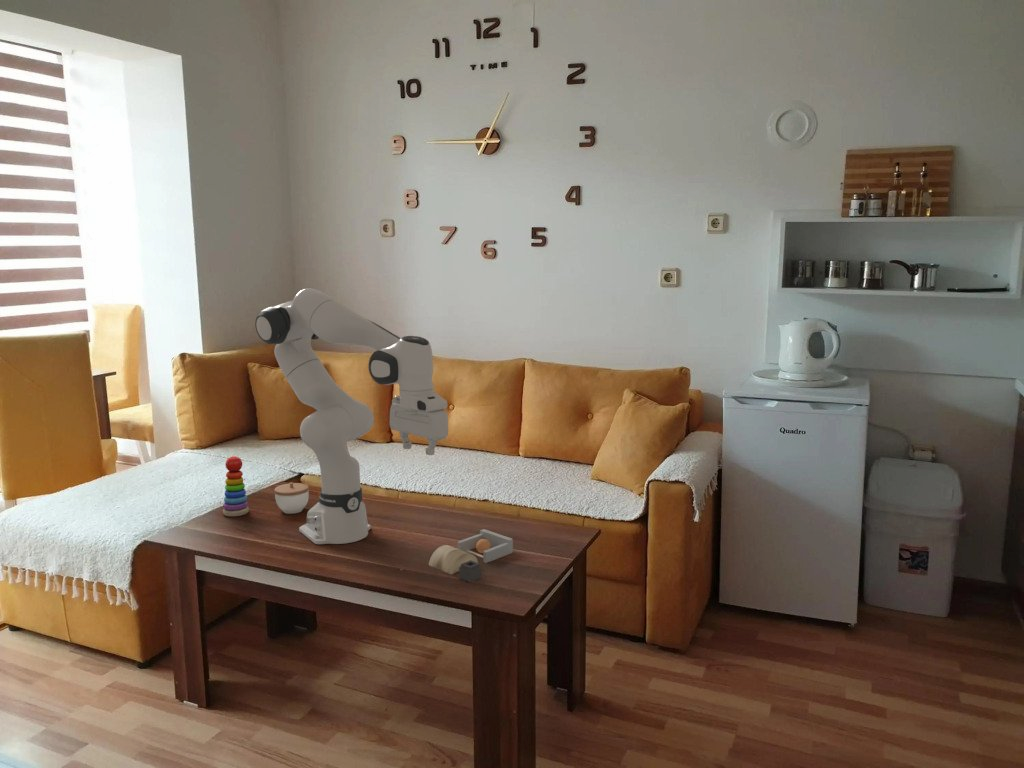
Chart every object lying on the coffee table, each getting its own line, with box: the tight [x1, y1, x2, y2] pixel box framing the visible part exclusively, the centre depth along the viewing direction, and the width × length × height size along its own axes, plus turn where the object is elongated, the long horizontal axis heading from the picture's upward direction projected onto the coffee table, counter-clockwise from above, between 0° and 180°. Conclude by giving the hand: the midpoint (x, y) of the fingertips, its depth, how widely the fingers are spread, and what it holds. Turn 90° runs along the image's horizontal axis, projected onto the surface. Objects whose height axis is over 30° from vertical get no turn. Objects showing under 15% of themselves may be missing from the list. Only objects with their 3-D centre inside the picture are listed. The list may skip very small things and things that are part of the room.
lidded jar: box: [273, 482, 310, 515], centre depth 257 cm, size 11×11×9 cm
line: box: [465, 549, 483, 558], centre depth 218 cm, size 9×1×1 cm, turn 46°
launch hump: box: [428, 544, 479, 575], centre depth 212 cm, size 9×10×10 cm
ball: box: [476, 539, 491, 555], centre depth 219 cm, size 4×4×4 cm
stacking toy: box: [222, 456, 250, 517], centre depth 254 cm, size 8×8×19 cm
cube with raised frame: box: [458, 560, 483, 583], centre depth 202 cm, size 4×4×4 cm
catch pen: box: [456, 528, 514, 564], centre depth 220 cm, size 12×10×4 cm
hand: (418, 451), depth 207 cm, fingers open, 8 cm apart
